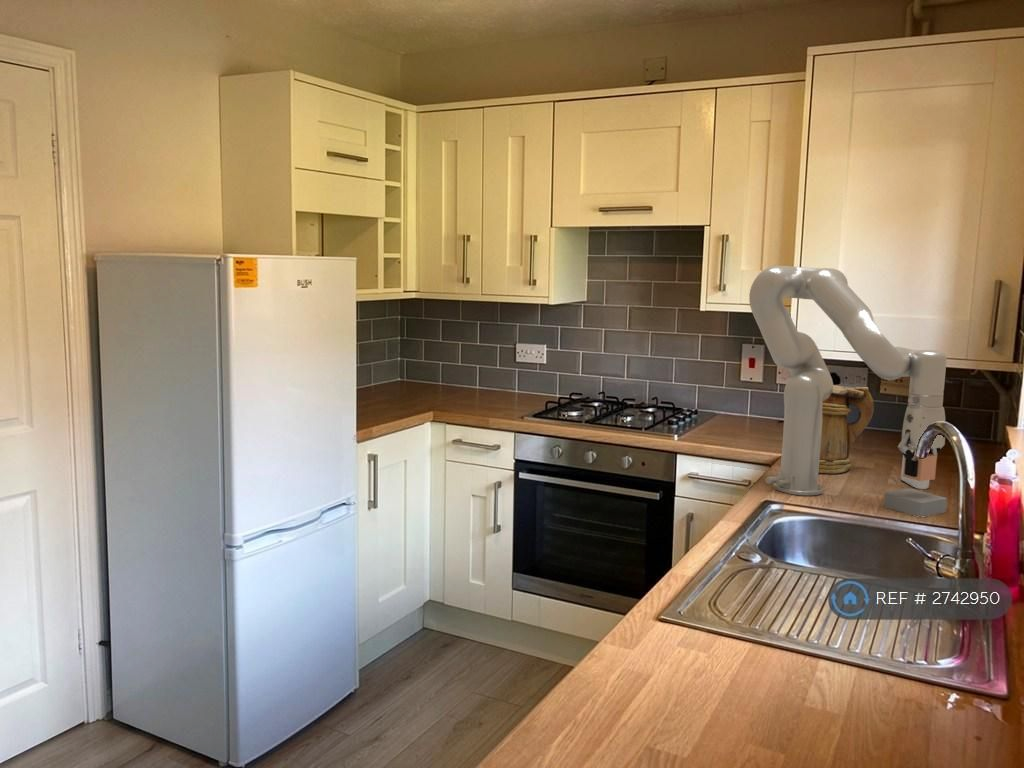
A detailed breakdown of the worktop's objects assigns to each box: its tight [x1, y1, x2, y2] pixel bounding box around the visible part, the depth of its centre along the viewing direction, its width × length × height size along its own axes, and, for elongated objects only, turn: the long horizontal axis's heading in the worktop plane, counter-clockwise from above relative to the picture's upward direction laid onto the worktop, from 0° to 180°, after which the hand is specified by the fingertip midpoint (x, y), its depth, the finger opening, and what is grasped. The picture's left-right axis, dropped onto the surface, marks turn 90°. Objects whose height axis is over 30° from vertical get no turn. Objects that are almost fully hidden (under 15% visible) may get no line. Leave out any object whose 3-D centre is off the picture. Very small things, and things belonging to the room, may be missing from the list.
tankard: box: [818, 384, 875, 475], centre depth 248 cm, size 18×24×25 cm
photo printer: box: [900, 446, 930, 490], centre depth 232 cm, size 10×4×12 cm, turn 0°
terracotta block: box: [903, 452, 938, 481], centre depth 207 cm, size 5×5×6 cm
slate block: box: [883, 487, 948, 518], centre depth 208 cm, size 10×10×4 cm
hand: (919, 473), depth 207 cm, fingers closed on terracotta block, 5 cm apart
